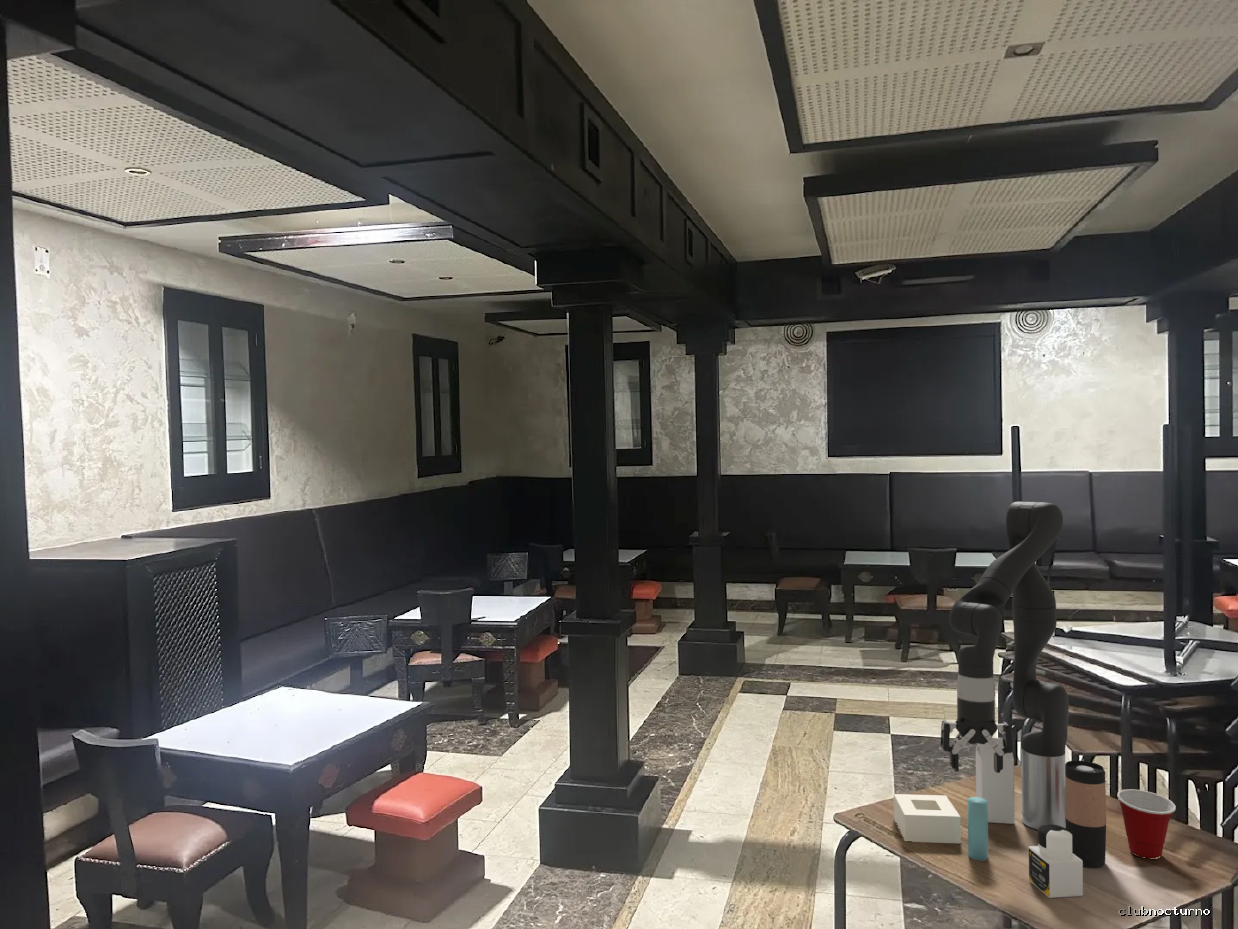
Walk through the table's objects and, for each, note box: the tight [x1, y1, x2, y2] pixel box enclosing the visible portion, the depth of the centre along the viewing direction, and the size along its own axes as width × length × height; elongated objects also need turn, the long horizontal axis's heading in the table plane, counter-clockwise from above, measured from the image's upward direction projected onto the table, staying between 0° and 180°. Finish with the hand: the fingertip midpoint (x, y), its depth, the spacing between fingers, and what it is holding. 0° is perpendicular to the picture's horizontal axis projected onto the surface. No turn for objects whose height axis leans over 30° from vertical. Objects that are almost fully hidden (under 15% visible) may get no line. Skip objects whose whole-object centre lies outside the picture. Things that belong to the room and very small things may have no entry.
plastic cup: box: [1116, 788, 1177, 858], centre depth 185 cm, size 11×11×12 cm
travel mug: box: [1065, 759, 1107, 869], centre depth 182 cm, size 8×8×20 cm
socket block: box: [893, 793, 962, 844], centre depth 198 cm, size 12×12×6 cm
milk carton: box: [975, 737, 1016, 825], centre depth 204 cm, size 7×7×19 cm
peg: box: [967, 796, 989, 862], centre depth 185 cm, size 4×4×12 cm
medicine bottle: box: [1028, 824, 1084, 899], centre depth 171 cm, size 7×7×12 cm
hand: (976, 771), depth 185 cm, fingers open, 8 cm apart
